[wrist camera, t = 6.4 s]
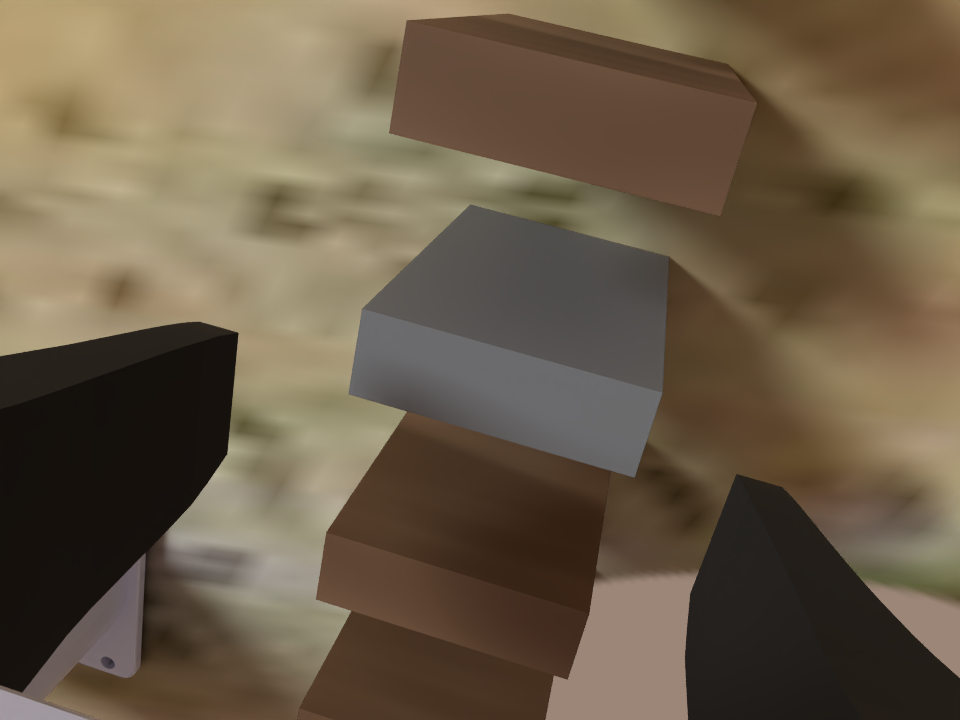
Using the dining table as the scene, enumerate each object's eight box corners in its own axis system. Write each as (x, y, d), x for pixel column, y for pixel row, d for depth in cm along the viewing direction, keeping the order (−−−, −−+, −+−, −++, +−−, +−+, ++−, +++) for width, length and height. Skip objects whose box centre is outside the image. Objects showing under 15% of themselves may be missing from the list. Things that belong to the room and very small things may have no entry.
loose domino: (650, 317, 21) (634, 478, 14) (457, 265, 22) (348, 394, 15) (669, 256, 21) (662, 393, 14) (470, 204, 21) (362, 309, 14)
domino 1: (705, 137, 20) (720, 216, 12) (493, 86, 20) (389, 132, 13) (727, 64, 19) (757, 102, 12) (508, 13, 19) (406, 20, 12)
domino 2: (603, 469, 23) (567, 679, 16) (426, 418, 24) (315, 599, 17) (618, 418, 23) (588, 614, 15) (436, 367, 23) (326, 532, 16)
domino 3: (563, 598, 25) (515, 839, 18) (400, 548, 26) (290, 762, 18) (576, 554, 24) (532, 786, 17) (409, 504, 25) (299, 708, 18)
